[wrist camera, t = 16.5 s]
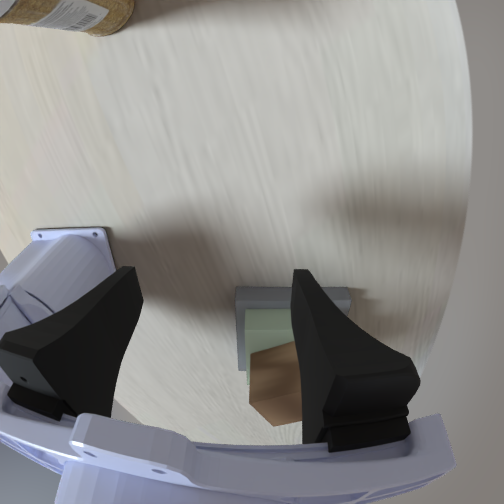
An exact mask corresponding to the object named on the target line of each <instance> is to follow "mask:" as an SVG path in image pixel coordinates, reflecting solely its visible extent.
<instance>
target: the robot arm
mask: <svg viewBox="0 0 504 504" xmlns="http://www.w3.org/2000/svg"><path fill="white" fill-rule="evenodd" d="M95 232H96V233H97V234H98V235H96V234H95ZM31 238H32V242H31V243H30V244H29V245H28V246H27V247H26V248H25V249H24V250H23V251H22V252H21V253H20V254H19V255H18V256H17V257H16V258H14V259H13V260H12V261H11V262H10V263H9V265H8V266H7V267H6V268H5V269H4V270H3V271H2V272H1V273H0V443H4V444H5V445H7V446H8V447H10V448H12V449H14V450H15V451H17V452H19V453H20V454H22V455H24V456H26V457H28V458H29V459H31V460H33V461H35V462H37V463H39V464H40V465H42V466H44V467H46V468H48V469H50V470H52V471H54V472H56V473H58V474H60V475H62V477H61V480H60V484H59V488H58V491H57V495H56V499H55V503H54V504H367V503H371V502H375V501H379V500H383V499H386V498H390V497H394V496H397V495H400V494H403V493H407V492H410V491H413V490H416V489H419V488H422V487H425V486H426V485H428V484H430V483H432V482H433V481H435V480H437V479H438V478H440V477H442V476H443V475H445V474H446V473H448V472H449V471H451V470H453V469H454V468H455V467H456V461H455V457H454V454H453V451H452V447H451V445H450V441H449V438H448V435H447V432H446V429H445V426H444V423H443V420H442V417H441V414H439V413H438V414H434V415H430V416H426V417H422V418H418V419H415V420H413V421H411V422H409V423H408V421H407V417H406V416H408V414H409V410H408V407H407V404H408V403H409V401H410V400H411V399H412V397H413V396H414V395H415V393H416V391H417V390H418V388H419V386H420V378H419V375H418V373H417V370H416V367H415V365H414V364H413V362H412V360H411V358H410V357H408V356H406V355H404V354H401V353H399V352H397V351H395V350H393V349H391V348H390V347H388V346H386V345H384V344H383V343H381V342H379V341H378V340H376V339H375V338H373V337H372V336H370V335H369V334H368V333H366V332H365V331H364V330H362V329H361V328H360V327H358V326H357V325H356V324H355V323H354V322H353V321H351V320H350V319H349V318H348V317H347V316H346V315H345V314H344V313H343V312H342V311H341V310H340V309H339V308H338V307H337V306H336V305H335V304H334V302H333V301H332V300H331V299H330V298H329V297H328V295H327V294H326V293H325V292H324V290H323V289H322V288H321V287H320V285H319V284H318V283H317V281H316V280H315V278H314V277H313V275H312V274H311V273H310V271H309V270H308V269H294V273H293V284H292V294H291V303H290V309H291V324H292V330H293V336H294V341H295V346H296V352H297V357H298V363H299V369H300V380H301V399H302V444H299V445H228V444H213V443H202V442H192V441H190V440H189V439H188V438H187V437H186V436H183V435H181V434H179V433H176V432H174V431H171V430H167V429H162V428H158V427H153V426H147V425H141V424H136V423H131V422H126V421H122V420H117V419H113V418H111V411H112V404H113V398H114V392H115V387H116V382H117V378H118V373H119V370H120V366H121V362H122V359H123V356H124V354H125V351H126V349H127V346H128V344H129V341H130V339H131V337H132V334H133V332H134V329H135V327H136V325H137V322H138V320H139V316H140V313H141V309H142V305H143V297H142V293H141V290H140V286H139V282H138V278H137V274H136V270H135V267H130V266H123V267H121V268H120V269H118V270H117V271H116V268H115V265H114V261H113V258H112V254H111V250H110V246H109V242H108V238H107V234H106V231H105V230H104V229H103V228H69V229H43V230H33V231H32V232H31Z"/></svg>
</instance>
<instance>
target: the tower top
mask: <svg viewBox="0 0 504 504" xmlns="http://www.w3.org/2000/svg"><path fill="white" fill-rule="evenodd" d="M292 341H294V336H293V330H292V324H291V309H246V310H245V350H246V371H247V385H250V354H251V353H254V352H258V351H262V350H265V349H269V348H272V347H276V346H279V345H283V344H286V343H289V342H292Z"/></svg>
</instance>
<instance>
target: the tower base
mask: <svg viewBox="0 0 504 504" xmlns="http://www.w3.org/2000/svg"><path fill="white" fill-rule="evenodd" d="M321 288H322V289H323V290H324V292H325V293H326V294H327V295H328V297H329V298H330V299H331V300H332V301H333V302H334V304H335V305H336V306H337V307H338V308H339V309H340V310H341V311H342V312H343V313H344V314H345V315H346V316H348V312H349V309H350V305H351V301H352V299H351V297H350V294H349V291H348V289H347V287H321ZM291 294H292V287H236V296H235V310H236V331H237V351H238V369H239V371H246V350H245V310H246V309H290V303H291Z"/></svg>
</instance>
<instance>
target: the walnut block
mask: <svg viewBox="0 0 504 504" xmlns="http://www.w3.org/2000/svg"><path fill="white" fill-rule="evenodd" d="M249 404H250V405H252V406H253V407H254V408H255V409H256V410H257V411H258V412H259V413H260V414H261V415H262V416H263V417H264V418H265V419H266V420H267V421H268V422H269V423H270V424H271V425H272V426H279V425H284V424H289V423H294V422H298V421H302V399H301V380H300V369H299V363H298V357H297V352H296V346H295V341H292V342H289V343H286V344H283V345H279V346H276V347H272V348H269V349H265V350H262V351H258V352H254V353H251V354H250V392H249Z"/></svg>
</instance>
